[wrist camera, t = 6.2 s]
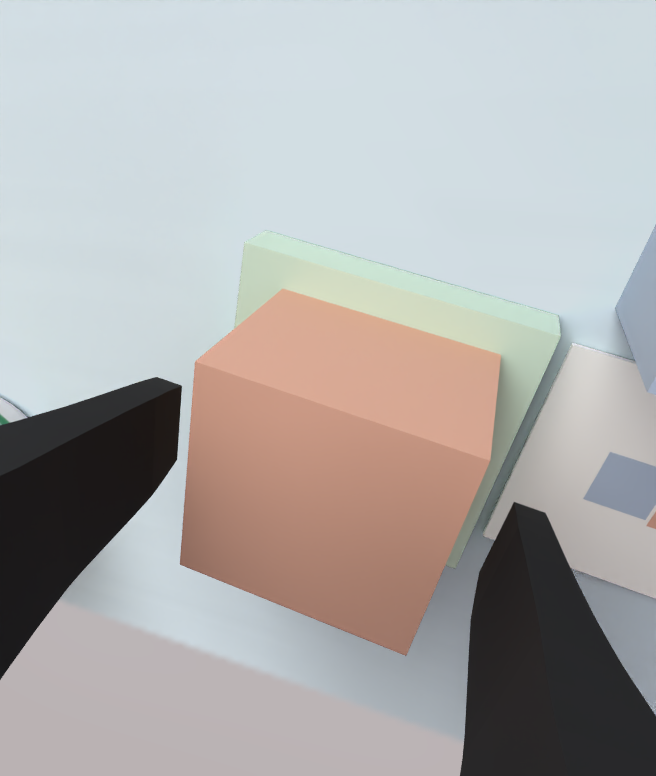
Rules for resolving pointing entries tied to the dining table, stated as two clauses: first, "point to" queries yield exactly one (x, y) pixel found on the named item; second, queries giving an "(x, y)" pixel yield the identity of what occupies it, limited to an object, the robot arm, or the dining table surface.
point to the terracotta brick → (335, 462)
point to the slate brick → (642, 314)
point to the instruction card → (593, 469)
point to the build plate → (414, 325)
